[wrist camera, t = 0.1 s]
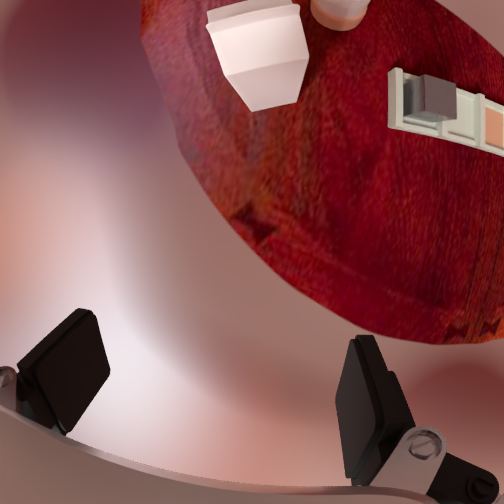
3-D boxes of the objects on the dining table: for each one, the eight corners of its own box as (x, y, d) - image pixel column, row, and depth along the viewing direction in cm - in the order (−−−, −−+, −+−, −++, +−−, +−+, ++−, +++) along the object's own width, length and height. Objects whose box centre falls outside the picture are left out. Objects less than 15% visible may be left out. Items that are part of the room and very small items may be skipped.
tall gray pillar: (402, 85, 31) (424, 74, 25) (430, 92, 31) (455, 84, 24) (402, 116, 33) (425, 110, 26) (431, 122, 32) (456, 119, 26)
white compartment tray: (387, 72, 32) (395, 67, 29) (504, 109, 30) (514, 108, 27) (387, 127, 34) (395, 125, 31) (503, 156, 32) (514, 158, 30)
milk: (240, 71, 34) (193, -9, 13) (286, 61, 33) (285, -31, 12) (251, 113, 36) (212, 64, 15) (298, 103, 35) (314, 41, 14)
